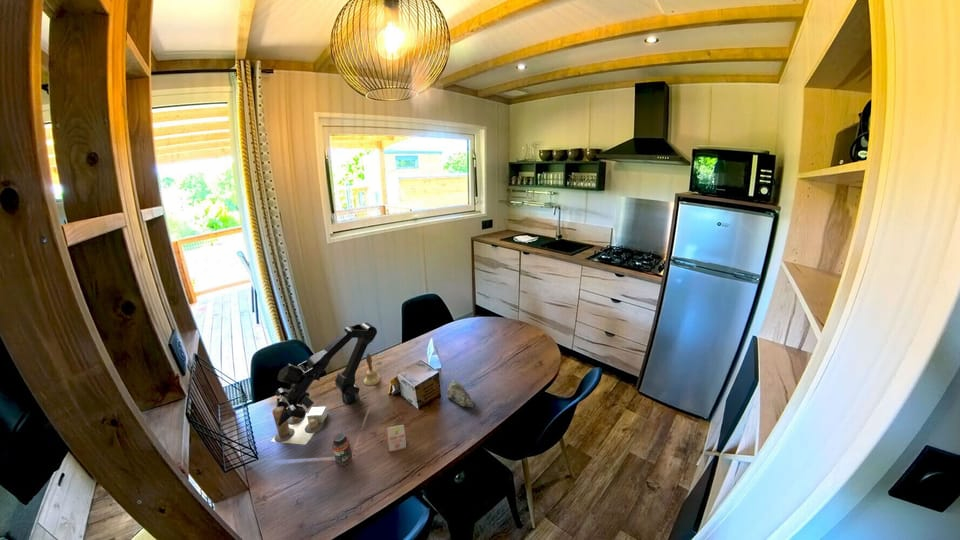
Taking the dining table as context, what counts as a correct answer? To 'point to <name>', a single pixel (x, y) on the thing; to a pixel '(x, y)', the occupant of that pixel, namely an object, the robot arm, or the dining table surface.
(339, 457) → the supplement bottle
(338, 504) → the dining table surface
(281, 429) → the tan orange cylinder
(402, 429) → the small printed carton
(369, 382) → the hand bell
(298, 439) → the board
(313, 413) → the housing
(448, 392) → the mineral rock
